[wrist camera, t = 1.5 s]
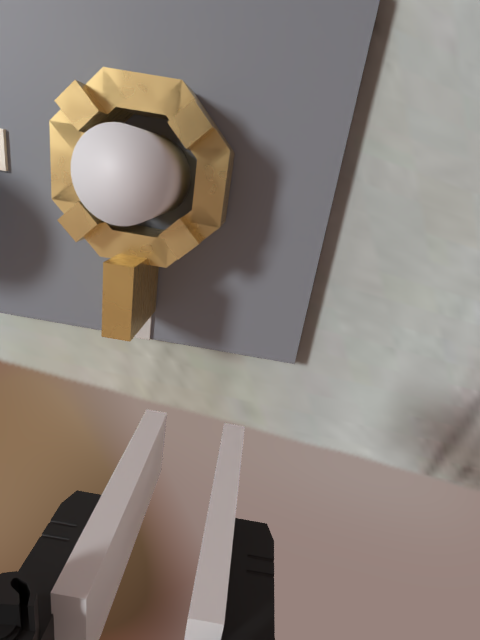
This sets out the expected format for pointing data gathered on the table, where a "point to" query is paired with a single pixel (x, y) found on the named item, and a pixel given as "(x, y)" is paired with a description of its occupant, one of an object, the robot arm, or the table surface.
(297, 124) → the housing plate
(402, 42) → the table surface
